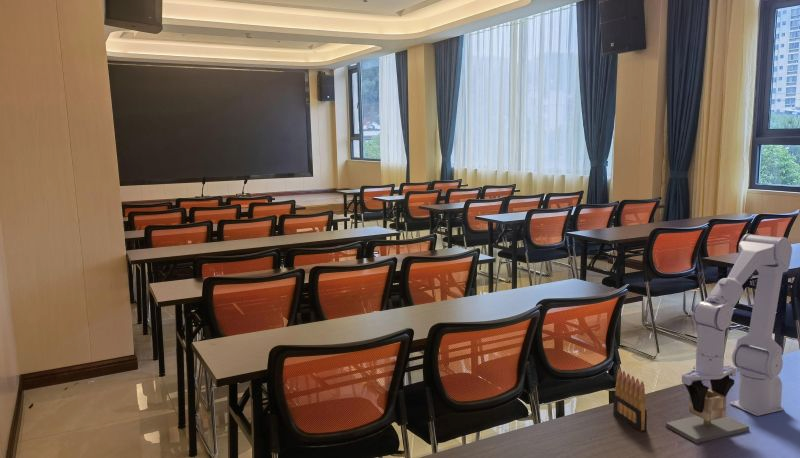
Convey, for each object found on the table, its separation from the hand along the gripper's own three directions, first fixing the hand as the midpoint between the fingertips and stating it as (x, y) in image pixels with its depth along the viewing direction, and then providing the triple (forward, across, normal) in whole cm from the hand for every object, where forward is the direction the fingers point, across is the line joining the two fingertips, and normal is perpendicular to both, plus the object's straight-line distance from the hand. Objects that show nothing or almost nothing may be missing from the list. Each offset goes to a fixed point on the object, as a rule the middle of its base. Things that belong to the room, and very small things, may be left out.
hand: (707, 408), depth 140 cm
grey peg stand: (+5, 0, 0) cm, 5 cm away
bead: (+1, 0, 0) cm, 1 cm away
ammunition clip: (+5, +14, -10) cm, 18 cm away
